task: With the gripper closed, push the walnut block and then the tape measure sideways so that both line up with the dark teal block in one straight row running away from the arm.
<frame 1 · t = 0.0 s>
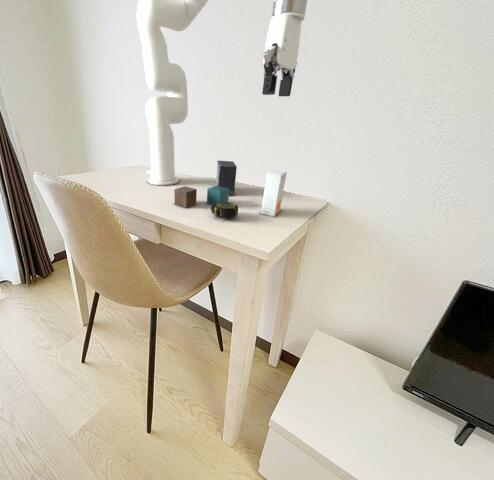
hand: (276, 95, 69), 31 cm above the table, tool pointing down, fingers open, 9 cm apart
walnut block: (185, 204, 84), on the table
cosmetic box: (270, 212, 78), on the table
tape measure: (223, 216, 75), on the table
teal block: (217, 203, 85), on the table
small box: (224, 192, 97), on the table
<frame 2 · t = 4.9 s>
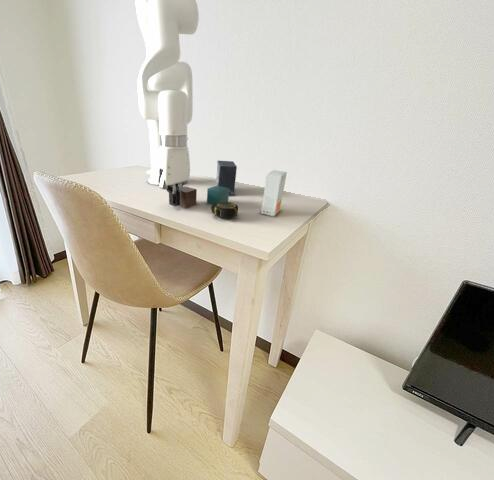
hand: (174, 204, 80), 1 cm above the table, tool pointing down, fingers closed
walnut block: (185, 204, 84), on the table, touching gripper
everything else where it was.
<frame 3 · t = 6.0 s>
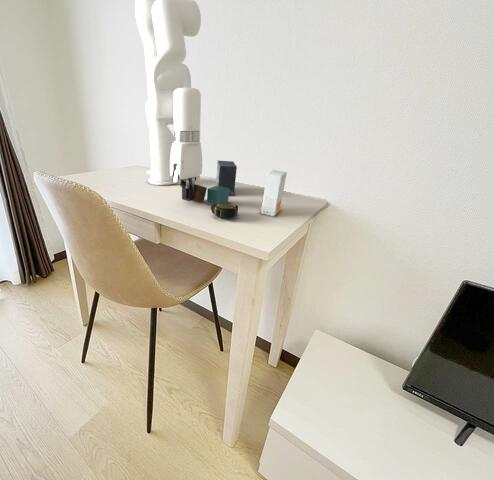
hand: (187, 199, 82), 2 cm above the table, tool pointing down, fingers closed
walnut block: (193, 200, 85), point 1 cm above the table, tilted 20°, touching gripper
everything else where it was.
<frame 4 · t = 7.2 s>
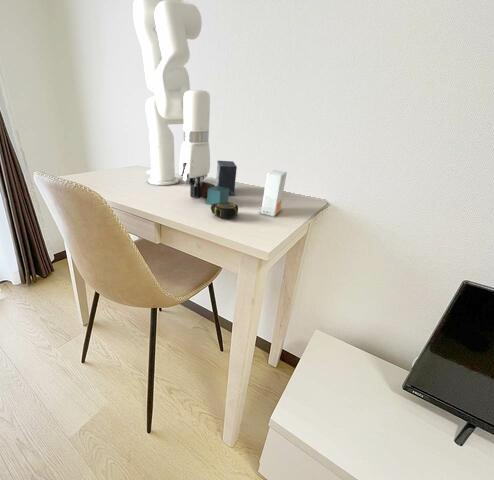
hand: (195, 197, 85), 2 cm above the table, tool pointing down, fingers closed
walnut block: (201, 197, 88), point 1 cm above the table, tilted 20°, touching gripper
everything else where it was.
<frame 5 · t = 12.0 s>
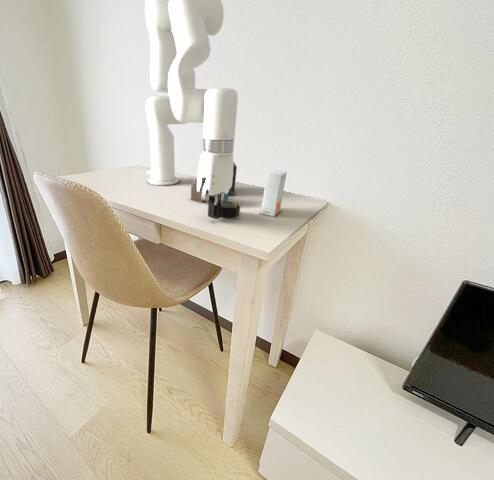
hand: (214, 217, 71), 1 cm above the table, tool pointing down, fingers closed
walnut block: (201, 199, 88), on the table
tape measure: (225, 216, 75), on the table, touching gripper
everything else where it was.
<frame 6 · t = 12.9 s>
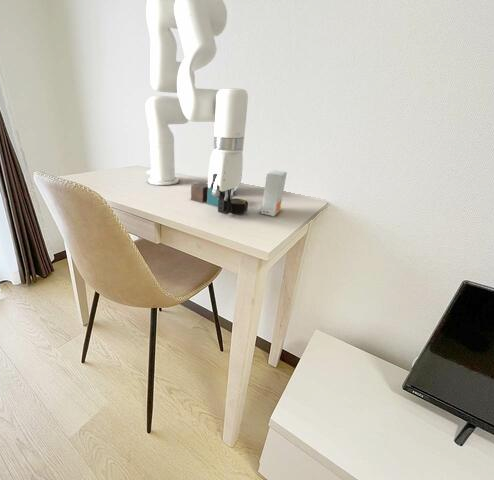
hand: (223, 212, 74), 1 cm above the table, tool pointing down, fingers closed
tape measure: (233, 212, 78), on the table, touching gripper
everything else where it was.
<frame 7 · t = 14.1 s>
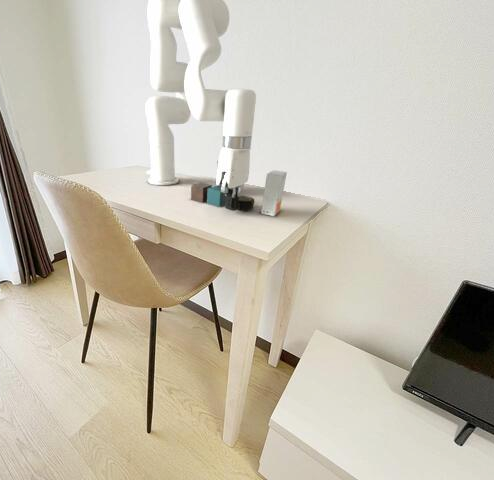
hand: (231, 208, 76), 1 cm above the table, tool pointing down, fingers closed
tape measure: (239, 209, 81), on the table, touching gripper
everything else where it was.
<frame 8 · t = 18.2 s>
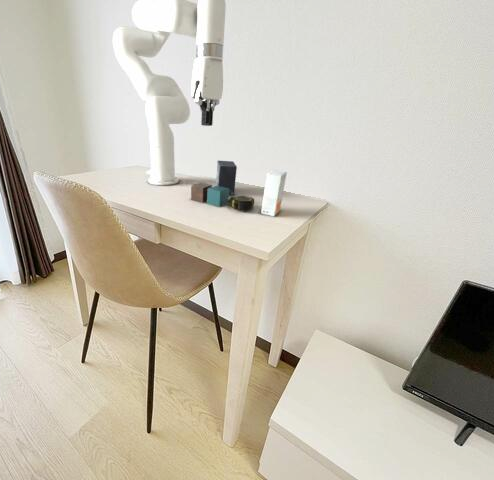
hand: (206, 125, 81), 23 cm above the table, tool pointing down, fingers closed
tape measure: (239, 209, 81), on the table
everything else where it was.
at the end: walnut block 0.7 cm from the target spot, on the table; tape measure 0.7 cm from the target spot, on the table; teal block moved 0.0 cm from its start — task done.
